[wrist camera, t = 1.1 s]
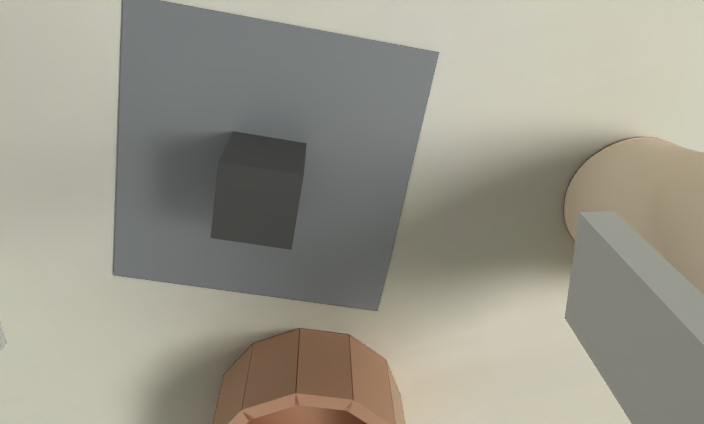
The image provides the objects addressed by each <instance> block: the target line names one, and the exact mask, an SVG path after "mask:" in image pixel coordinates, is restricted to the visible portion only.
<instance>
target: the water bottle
mask: <svg viewBox="0 0 704 424" xmlns="http://www.w3.org/2000/svg"><path fill="white" fill-rule="evenodd" d="M601 211H614V212H615V213H616V214H618V215H619V216H620V217H621V218H622V219H623V220H624V221H625V222H626V223H627V224H628V225H629V226H630V227H631V228H632V229H634V230H635V231H636V232H637V233H638V234H639V235H640V236H641V237H642V238H643V239H644V240H645V241H646V242H647V243H648V244H650V245H651V246H652V247H653V248H654V249H655V250H656V251H657V252H658V253H659V254H660V255H661V256H662V257H663V258H664V259H666V260H667V261H668V262H669V263H670V264H671V265H672V266H673V267H674V268H675V269H676V270H677V271H678V272H679V273H681V274H682V275H683V276H684V277H685V278H686V279H687V280H688V281H689V282H690V283H691V284H692V285H693V286H694V287H695V288H697V289H698V290H699V291H700V292H701V293H702V294H703V295H704V153H703V152H697V151H694V150H690V149H687V148H684V147H681V146H678V145H675V144H672V143H670V142H666V141H663V140H660V139H656V138H648V137H639V138H632V139H627V140H624V141H621V142H618V143H615V144H613V145H610V146H608V147H606V148H605V149H603V150H601V151H599V152H598V153H596V154H595V155H593V156H592V157H591V158H590V159H588V160H587V161H586V162H585V163H584V164H583V165H582V166H581V167H580V169H579V170H578V171H577V172H576V174H575V175H574V177H573V178H572V180H571V182H570V184H569V187H568V190H567V193H566V197H565V203H564V216H565V221H566V225H567V228H568V230H569V232H570V234H571V236H572V237H573V238H574V240H576V233H577V226H578V219H579V212H601Z"/></svg>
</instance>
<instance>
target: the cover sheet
mask: <svg viewBox="0 0 704 424" xmlns="http://www.w3.org/2000/svg"><path fill="white" fill-rule="evenodd" d="M438 55H439V52H434V51H429V50H424V49H418V48H413V47H407V46H402V45H397V44H391V43H386V42H381V41H375V40H370V39H364V38H359V37H354V36H348V35H343V34H338V33H332V32H327V31H321V30H316V29H311V28H305V27H300V26H295V25H289V24H284V23H278V22H273V21H268V20H262V19H257V18H252V17H246V16H241V15H235V14H230V13H225V12H219V11H214V10H209V9H203V8H198V7H192V6H187V5H182V4H176V3H171V2H166V1H160V0H123V10H122V40H121V70H120V100H119V130H118V160H117V190H116V219H115V249H114V275H115V276H123V277H130V278H138V279H145V280H152V281H160V282H167V283H174V284H182V285H189V286H196V287H204V288H211V289H218V290H226V291H233V292H241V293H248V294H255V295H263V296H270V297H277V298H285V299H292V300H299V301H307V302H314V303H321V304H329V305H336V306H344V307H351V308H358V309H366V310H373V311H378V307H379V303H380V299H381V294H382V290H383V286H384V282H385V278H386V273H387V269H388V265H389V261H390V257H391V252H392V248H393V244H394V240H395V236H396V231H397V227H398V223H399V219H400V215H401V210H402V206H403V202H404V198H405V194H406V189H407V185H408V181H409V177H410V173H411V168H412V164H413V160H414V156H415V152H416V147H417V143H418V139H419V135H420V131H421V126H422V122H423V118H424V114H425V110H426V105H427V101H428V97H429V93H430V89H431V84H432V80H433V76H434V72H435V68H436V63H437V59H438Z"/></svg>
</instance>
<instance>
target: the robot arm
mask: <svg viewBox="0 0 704 424" xmlns="http://www.w3.org/2000/svg"><path fill="white" fill-rule="evenodd" d="M565 319H566V321H567V322H568V324H569V325H570V327H571V328H572V330H573V332H574V333H575V335H576V336H577V338H578V340H579V341H580V343H581V344H582V346H583V347H584V349H585V351H586V352H587V354H588V355H589V357H590V358H591V360H592V362H593V363H594V365H595V366H596V368H597V369H598V371H599V373H600V374H601V376H602V377H603V379H604V380H605V382H606V384H607V385H608V387H609V388H610V390H611V391H612V393H613V395H614V396H615V398H616V399H617V401H618V403H619V404H620V406H621V407H622V409H623V410H624V412H625V414H626V415H627V417H628V418H629V420H630V421H631V423H632V424H704V295H703V294H702V293H701V292H700V291H699V290H698V289H697V288H695V287H694V286H693V285H692V284H691V283H690V282H689V281H688V280H687V279H686V278H685V277H684V276H683V275H682V274H681V273H679V272H678V271H677V270H676V269H675V268H674V267H673V266H672V265H671V264H670V263H669V262H668V261H667V260H666V259H664V258H663V257H662V256H661V255H660V254H659V253H658V252H657V251H656V250H655V249H654V248H653V247H652V246H651V245H650V244H648V243H647V242H646V241H645V240H644V239H643V238H642V237H641V236H640V235H639V234H638V233H637V232H636V231H635V230H634V229H632V228H631V227H630V226H629V225H628V224H627V223H626V222H625V221H624V220H623V219H622V218H621V217H620V216H619V215H618V214H616V213H615V212H614V211H601V212H579V219H578V226H577V233H576V240H575V248H574V255H573V262H572V269H571V276H570V284H569V291H568V298H567V305H566V313H565ZM6 344H7V342H6V339H5V336H4V332H3V329H2V326H1V323H0V351H1V350H2V349H3V347H4V346H5V345H6Z"/></svg>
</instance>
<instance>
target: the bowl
mask: <svg viewBox="0 0 704 424" xmlns="http://www.w3.org/2000/svg"><path fill="white" fill-rule="evenodd" d="M213 424H405V418H404V412H403V406H402V400H401V395H400V392H399V390H398V387H397V385H396V383H395V380H394V378H393V375H392V373H391V370H390V368H389V366H388V363H387V361H386V359H384V358H383V357H381V356H380V355H378V354H377V353H375V352H374V351H372V350H371V349H369V348H368V347H367V346H365V345H364V344H362V343H361V342H359V341H358V340H356V339H355V338H353V337H352V336H350V335H348V334H340V333H333V332H325V331H317V330H309V329H302V328H300V329H296V330H293V331H290V332H287V333H284V334H281V335H277V336H274V337H271V338H268V339H265V340H262V341H259V342H256V343H254V344H252V345H251V346H250V347H249V348H248V349H247V351H246V352H245V353H244V354H243V355H242V356H241V357H240V358H239V359H238V360H237V361H236V362H235V363H234V364H233V366H232V367H231V368H230V369H229V370H228V371H227V372H226V373H225V374H224V377H223V381H222V385H221V390H220V394H219V398H218V403H217V407H216V411H215V416H214V420H213Z"/></svg>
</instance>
